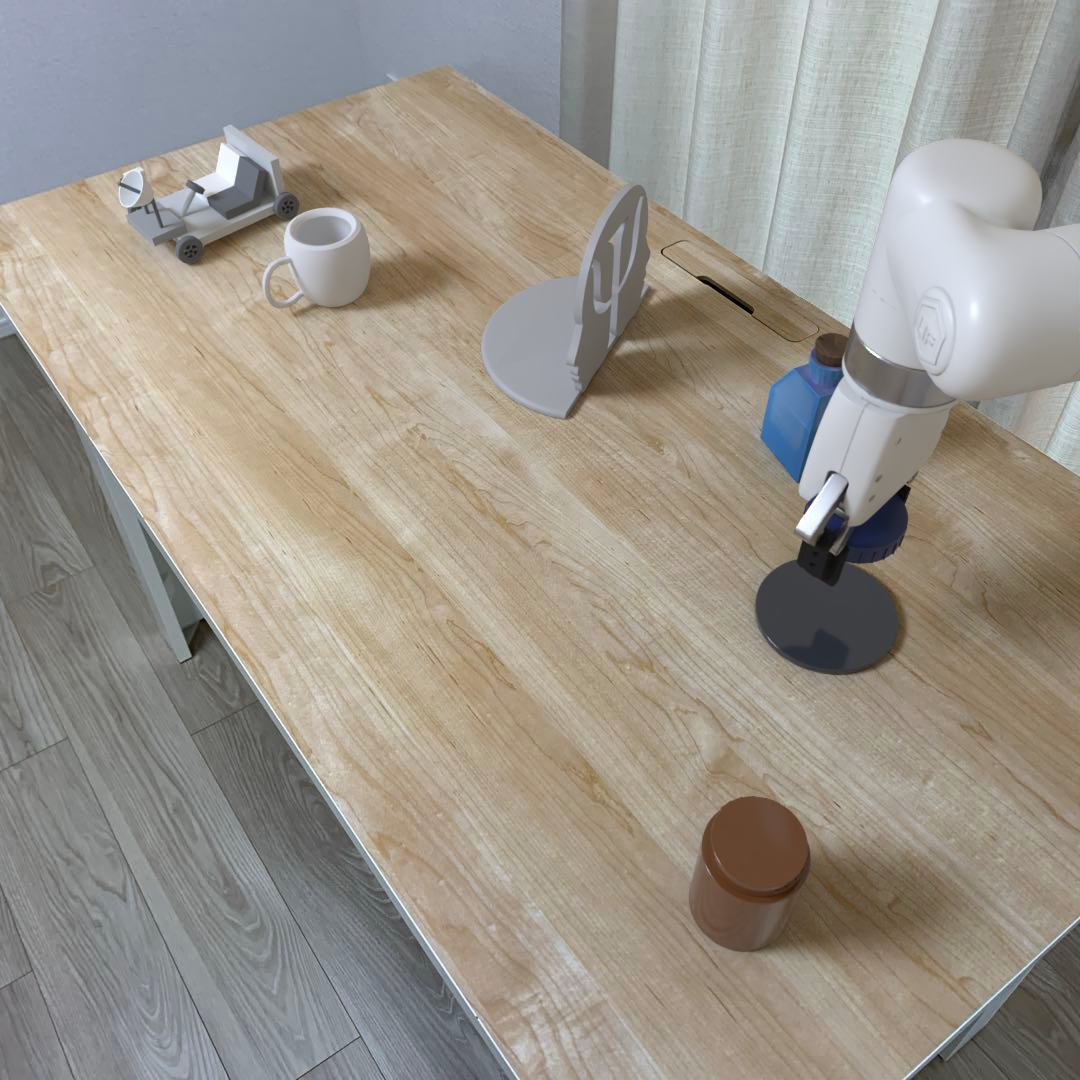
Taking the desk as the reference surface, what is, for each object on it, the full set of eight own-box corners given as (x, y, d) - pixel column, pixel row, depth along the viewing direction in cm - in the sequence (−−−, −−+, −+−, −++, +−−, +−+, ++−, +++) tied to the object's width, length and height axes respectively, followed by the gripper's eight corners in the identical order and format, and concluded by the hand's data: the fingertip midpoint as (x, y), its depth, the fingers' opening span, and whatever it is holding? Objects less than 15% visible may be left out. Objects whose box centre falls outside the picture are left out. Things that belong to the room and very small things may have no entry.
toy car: (132, 197, 105) (80, 152, 110) (161, 279, 112) (110, 233, 118) (284, 133, 112) (228, 94, 118) (302, 214, 120) (248, 174, 125)
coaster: (926, 628, 82) (928, 623, 81) (825, 699, 78) (827, 695, 77) (824, 540, 87) (825, 536, 87) (725, 603, 83) (726, 598, 83)
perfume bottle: (760, 437, 95) (781, 332, 86) (818, 418, 97) (845, 313, 88) (796, 482, 92) (823, 378, 82) (856, 462, 93) (889, 357, 84)
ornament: (566, 421, 97) (567, 270, 84) (441, 382, 101) (424, 231, 88) (652, 288, 110) (665, 139, 97) (538, 258, 113) (536, 110, 101)
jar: (809, 912, 67) (838, 852, 60) (735, 972, 65) (756, 917, 58) (741, 836, 71) (762, 770, 64) (668, 890, 68) (681, 829, 61)
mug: (349, 258, 114) (337, 193, 108) (391, 295, 110) (382, 230, 104) (251, 301, 109) (233, 236, 103) (291, 342, 105) (275, 276, 99)
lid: (782, 516, 75) (786, 500, 74) (853, 476, 77) (858, 460, 76) (851, 580, 71) (857, 565, 70) (924, 536, 74) (930, 520, 72)
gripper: (933, 263, 68) (870, 456, 81) (771, 396, 60) (731, 583, 74) (1040, 314, 64) (956, 506, 78) (884, 461, 57) (820, 645, 70)
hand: (847, 542), depth 76 cm, fingers closed on lid, 6 cm apart
